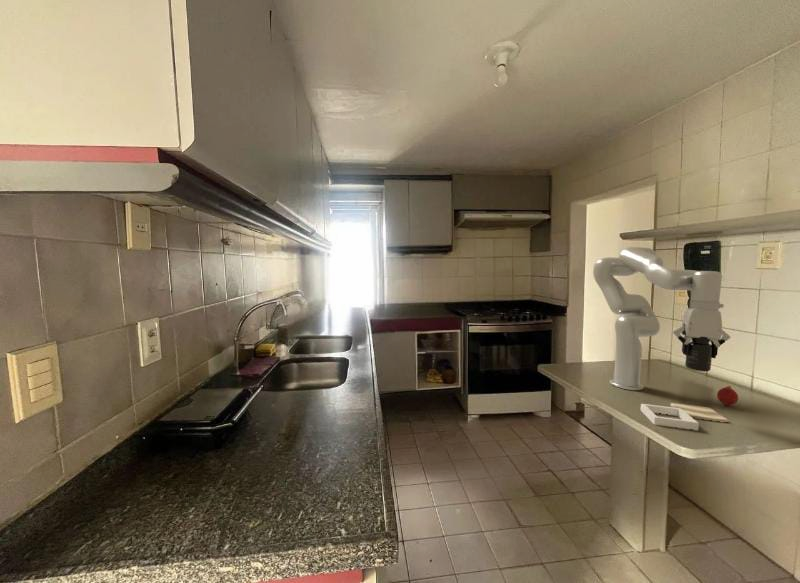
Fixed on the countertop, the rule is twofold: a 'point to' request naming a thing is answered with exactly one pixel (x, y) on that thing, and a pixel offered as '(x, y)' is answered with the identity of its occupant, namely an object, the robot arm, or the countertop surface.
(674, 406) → the board
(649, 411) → the white square frame
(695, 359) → the supplement bottle
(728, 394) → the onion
